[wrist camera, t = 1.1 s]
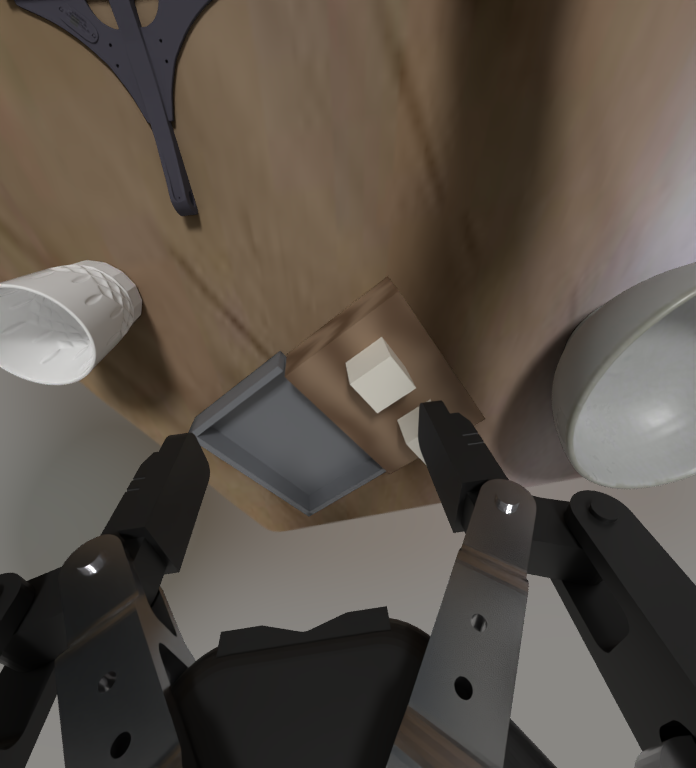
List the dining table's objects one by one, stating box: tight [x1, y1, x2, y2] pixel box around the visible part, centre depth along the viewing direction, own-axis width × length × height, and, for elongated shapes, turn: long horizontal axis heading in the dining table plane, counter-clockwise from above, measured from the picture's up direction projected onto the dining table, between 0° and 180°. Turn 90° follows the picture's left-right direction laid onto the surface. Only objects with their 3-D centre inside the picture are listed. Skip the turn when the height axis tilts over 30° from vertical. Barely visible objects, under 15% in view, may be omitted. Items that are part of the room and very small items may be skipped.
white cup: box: [0, 260, 142, 385], centre depth 27 cm, size 8×8×10 cm
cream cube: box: [346, 337, 416, 413], centre depth 32 cm, size 4×4×4 cm
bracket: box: [14, 0, 212, 216], centre depth 24 cm, size 14×15×3 cm
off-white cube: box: [397, 399, 431, 465], centre depth 36 cm, size 4×4×4 cm
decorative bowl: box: [552, 262, 696, 489], centre depth 36 cm, size 27×27×12 cm
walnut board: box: [285, 276, 485, 474], centre depth 38 cm, size 14×20×5 cm
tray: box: [188, 351, 386, 516], centre depth 42 cm, size 14×22×4 cm, turn 37°
